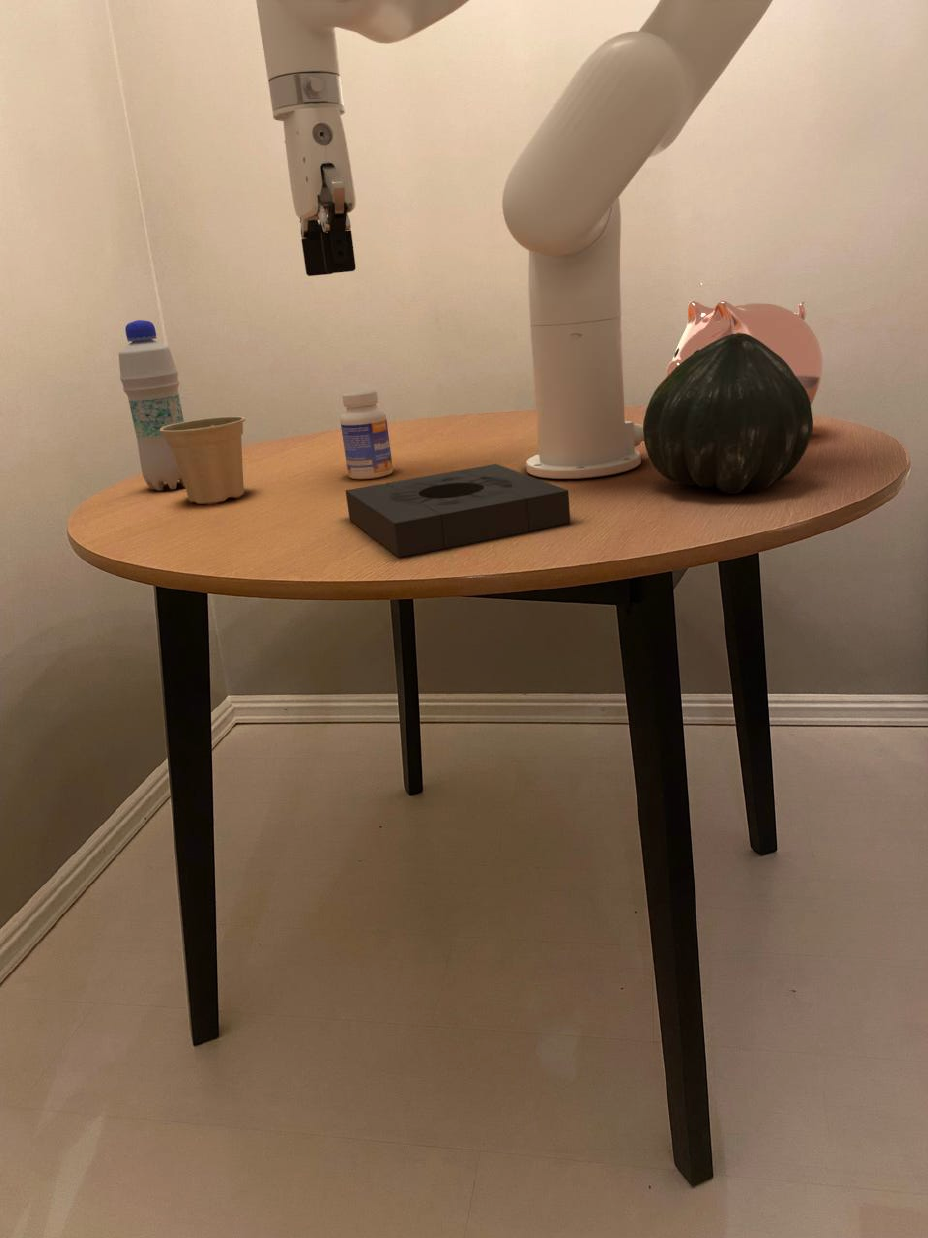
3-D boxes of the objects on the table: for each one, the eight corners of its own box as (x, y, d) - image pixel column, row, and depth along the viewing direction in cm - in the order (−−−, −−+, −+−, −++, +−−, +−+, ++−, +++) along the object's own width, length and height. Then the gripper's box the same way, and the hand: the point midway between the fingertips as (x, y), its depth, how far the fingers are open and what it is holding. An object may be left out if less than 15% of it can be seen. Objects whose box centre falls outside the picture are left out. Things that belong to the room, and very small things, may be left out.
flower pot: (170, 498, 111) (155, 424, 108) (249, 484, 114) (236, 412, 111) (180, 513, 103) (164, 433, 100) (265, 497, 106) (252, 420, 103)
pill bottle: (386, 478, 109) (375, 393, 106) (342, 481, 110) (330, 397, 107) (398, 468, 114) (388, 387, 111) (356, 471, 115) (345, 390, 112)
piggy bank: (641, 441, 115) (637, 305, 110) (768, 420, 120) (770, 288, 114) (708, 460, 102) (706, 305, 96) (849, 436, 106) (855, 286, 100)
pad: (498, 492, 97) (496, 463, 96) (570, 523, 83) (568, 490, 82) (349, 520, 92) (345, 490, 91) (398, 558, 78) (394, 523, 77)
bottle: (210, 480, 119) (178, 315, 112) (174, 493, 113) (139, 320, 106) (169, 480, 122) (136, 319, 115) (133, 492, 116) (95, 324, 109)
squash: (683, 410, 100) (652, 308, 88) (831, 415, 92) (820, 303, 80) (648, 523, 95) (610, 430, 83) (801, 537, 88) (784, 437, 76)
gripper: (363, 81, 92) (384, 267, 98) (323, 113, 107) (344, 272, 113) (287, 83, 89) (314, 274, 95) (258, 116, 105) (282, 278, 111)
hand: (330, 273), depth 104 cm, fingers open, 9 cm apart
